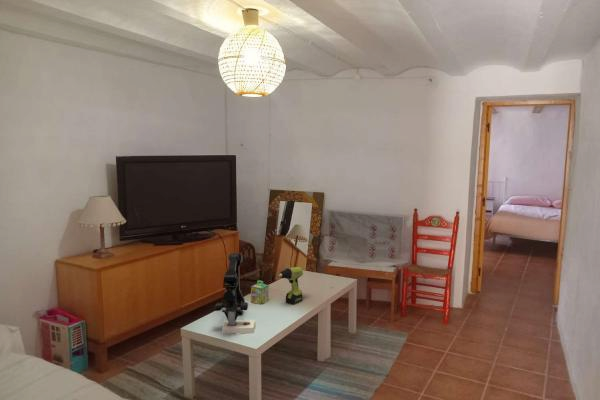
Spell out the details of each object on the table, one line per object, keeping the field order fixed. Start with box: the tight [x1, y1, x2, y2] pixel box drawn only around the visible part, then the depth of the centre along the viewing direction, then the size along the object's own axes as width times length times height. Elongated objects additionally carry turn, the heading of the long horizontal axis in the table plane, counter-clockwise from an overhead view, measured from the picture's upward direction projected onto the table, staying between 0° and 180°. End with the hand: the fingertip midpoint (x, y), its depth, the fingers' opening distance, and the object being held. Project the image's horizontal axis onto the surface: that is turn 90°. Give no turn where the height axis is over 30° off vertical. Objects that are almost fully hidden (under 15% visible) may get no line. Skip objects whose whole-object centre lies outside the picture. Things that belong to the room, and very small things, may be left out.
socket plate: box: [221, 319, 256, 334], centre depth 259 cm, size 12×18×3 cm, turn 91°
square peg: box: [228, 310, 236, 326], centre depth 258 cm, size 4×4×8 cm
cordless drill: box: [278, 266, 304, 306], centre depth 297 cm, size 23×7×25 cm, turn 142°
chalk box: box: [250, 279, 270, 305], centre depth 303 cm, size 9×9×15 cm
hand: (232, 320), depth 258 cm, fingers closed on square peg, 4 cm apart
